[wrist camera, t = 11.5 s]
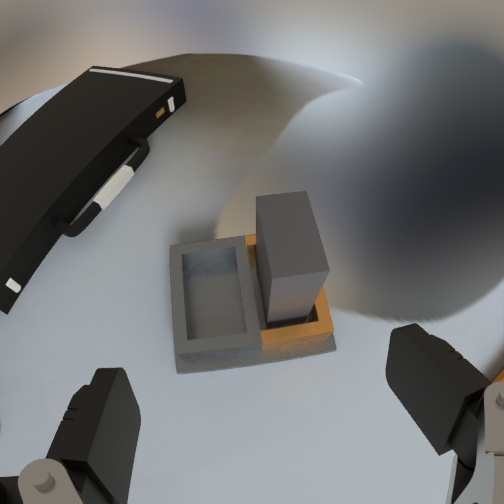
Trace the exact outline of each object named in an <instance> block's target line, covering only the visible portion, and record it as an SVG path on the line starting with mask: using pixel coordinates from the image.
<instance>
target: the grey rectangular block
mask: <svg viewBox="0 0 504 504" xmlns="http://www.w3.org/2000/svg"><path fill="white" fill-rule="evenodd" d="M256 269H257V275H258V281H259V287H260V293H261V299H262V304H263V310H264V316H265V322H266V328H270V327H277V326H283V325H289V324H295V323H301V322H305V321H306V319H307V317H308V315H309V313H310V311H311V309H312V307H313V305H314V303H315V301H316V299H317V297H318V295H319V292H320V290H321V288H322V286H323V284H324V281H325V279H326V277H327V275H328V273H329V266H328V263H327V259H326V256H325V252H324V248H323V245H322V242H321V239H320V235H319V231H318V228H317V225H316V221H315V218H314V215H313V211H312V208H311V205H310V202H309V198H308V195H307V192H306V191H303V192H293V193H283V194H274V195H266V196H257V197H256Z"/></svg>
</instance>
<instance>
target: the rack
mask: <svg viewBox="0 0 504 504" xmlns="http://www.w3.org/2000/svg"><path fill="white" fill-rule="evenodd" d="M170 277H171V299H172V316H173V331H174V345H175V357H176V368H177V373H178V374H187V373H197V372H207V371H216V370H224V369H232V368H240V367H247V366H254V365H261V364H267V363H273V362H280V361H286V360H291V359H297V358H302V357H308V356H313V355H318V354H323V353H328V352H333V351H335V350H337V349H336V344H335V340H334V335H333V332H334V328H333V324H332V320H331V316H330V312H329V308H328V304H327V300H326V295H325V292H324V288H323V286H322V288H321V290H320V292H319V295H318V297H317V299H316V301H315V303H314V305H313V307H312V309H311V311H310V313H309V315H308V317H307V319H306V321H305V322H301V323H295V324H289V325H283V326H277V327H270V328H266V322H265V316H264V310H263V304H262V299H261V293H260V287H259V281H258V275H257V269H256V234H253V235H245V236H238V237H230V238H224V239H216V240H208V241H201V242H194V243H187V244H180V245H172V246H170Z"/></svg>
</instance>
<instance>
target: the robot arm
mask: <svg viewBox="0 0 504 504" xmlns="http://www.w3.org/2000/svg"><path fill="white" fill-rule="evenodd" d="M386 379H387V382H388V385H389V386H390V388H391V389H392V391H393V392H394V393H395V395H396V396H397V398H398V399H399V400H400V402H401V403H402V404H403V406H404V407H405V409H406V410H407V411H408V413H409V414H410V415H411V417H412V418H413V420H414V421H415V422H416V424H417V425H418V427H419V428H420V429H421V431H422V432H423V434H424V435H425V436H426V438H427V439H428V441H429V442H430V443H431V445H432V446H433V448H434V449H435V451H436V452H437V453H438V455H439V456H440V455H442V454H444V453H446V452H448V451H450V450H452V449H453V450H454V452H455V453H456V454H455V456H454V458H453V463H452V470H451V476H450V483H449V488H448V494H447V499H446V504H504V381H500V382H495V383H492V382H491V381H489V380H488V379H487V378H486V377H485V376H484V375H483V374H482V373H481V372H480V371H479V370H478V369H476V368H475V367H474V366H473V365H472V364H471V363H470V362H469V361H468V360H467V359H463V356H462V355H461V354H460V353H459V352H458V351H455V349H454V348H453V347H452V346H451V345H450V344H448V343H447V342H446V341H445V340H443V339H440V338H438V337H436V336H434V335H432V334H431V335H429V334H428V333H427V332H426V331H425V330H424V329H423V328H421V327H420V326H419V325H418V324H415V323H414V324H410V325H407V326H403V327H399V328H395V329H393V330H392V332H391V336H390V343H389V350H388V357H387V363H386ZM67 409H68V411H66V412H65V414H64V416H63V421H61V423H60V425H59V427H58V430H57V432H56V434H55V437H54V439H53V441H52V444H51V446H50V448H49V451H48V453H47V456H46V458H45V459H38V460H35V461H33V462H31V463H29V464H28V465H27V466H26V467H24V469H23V470H22V471H21V473H20V475H19V476H12V477H0V504H127V500H128V494H129V487H130V481H131V475H132V469H133V463H134V457H135V452H136V446H137V441H138V436H139V431H140V425H141V415H140V409H139V406H138V403H137V401H136V398H135V396H134V393H133V390H132V388H131V385H130V382H129V380H128V377H127V374H126V372H125V370H124V369H123V368H98V369H97V370H96V372H95V374H94V376H93V379H92V381H91V383H90V385H84V386H83V387H81V388H80V389H79V390H78V391H77V392H76V393H75V394H74V395H73V397H72V399H71V401H70V403H69V405H68V408H67Z"/></svg>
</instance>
